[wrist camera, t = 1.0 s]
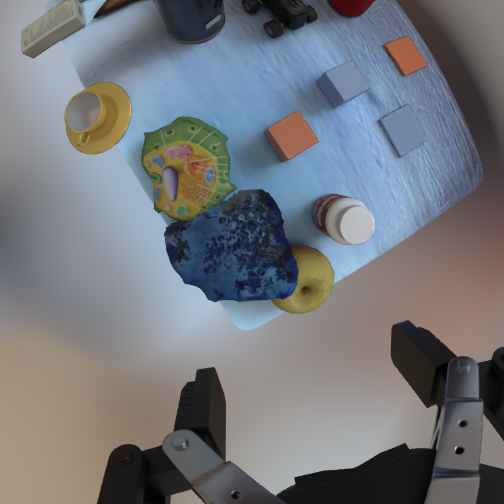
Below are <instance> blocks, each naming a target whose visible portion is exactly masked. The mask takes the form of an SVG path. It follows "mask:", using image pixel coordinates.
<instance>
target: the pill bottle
mask: <svg viewBox="0 0 504 504" xmlns="http://www.w3.org/2000/svg"><path fill="white" fill-rule="evenodd" d="M312 216H313V221H314V223H315V225H316V227H317V228H318V229H319V230H320V231H322V232H323V233H325V234H326V235H328V236H329V237H330V238H332V239H333V240H335V241H336V242H338V243H340V244H344V245H352V244H356V245H357V244H362V243H364V242H366V241H368V240H369V239H370V237H371V236H372V234H373V232H374V229H375V220H374V217H373V215H372V213H371V212H370V211H369V210H368V209H367V208H366V206H365V205H364V204H363V203H362V202H360V201H359V200H357V199H354V198H351V197H346V196H342V195H338V194H327V195H324V196H322V197H321V198H319V199H318V200H317V202H316V203H315V205H314V207H313V212H312Z"/></svg>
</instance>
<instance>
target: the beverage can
mask: <svg viewBox="0 0 504 504" xmlns="http://www.w3.org/2000/svg"><path fill="white" fill-rule="evenodd" d="M374 1H375V0H330V3H331V4H332V6H333V7H334V8H335V9H336V10H338V11H339V12H341V13H343V14H345V15H348V16H360V15H362V14H363V13H364V12H365V11H366V10H367V9H368V8H369V7H370V6H371V4H372V3H373V2H374Z"/></svg>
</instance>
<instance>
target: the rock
mask: <svg viewBox="0 0 504 504" xmlns="http://www.w3.org/2000/svg"><path fill="white" fill-rule="evenodd" d="M283 224H284V220H283V219H282V216H281V211H280V210H279V208H278V205H277V204H276V203H275V200H273V198H272V197H271V196H270V194H269V193H267V192H265V191H264V190H262V189H258V190H241V191H239V192H238V194H234V195H233V197H231V198H229V199H228V201H224V202H223V203H220V205H219V206H214V208H210V209H209V210H208V211H207V212H203V213H202V214H200V215H198V216H197V217H196V218H193V220H186V221H182V222H175V223H172V224H171V225H170V226H168V227H166V231H165V233H164V236H165V243H166V250H167V254H168V256H169V260H170V263H171V264H172V267H173V268H174V270H175V271H176V272H177V273H178V274H179V275H180V276H181V278H182V279H183V282H184V283H185V284H190V285H193V286H197V287H199V288H200V289H201V290H202V291H203V292H204V293H205V295H206V297H207V299H208V300H211V301H214V302H217V301H219V300H235V301H238V302H241V301H253V300H269V299H281V300H284V299H286V298H288V297H290V296H291V295H292V294H293V292H294V291H295V288H296V286H297V281H298V274H299V269H298V267H297V261H296V259H294V255H293V254H292V250H291V246H290V244H289V243H288V240H287V239H286V237H285V233H284V229H283V227H282V226H283Z"/></svg>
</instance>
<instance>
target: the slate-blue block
mask: <svg viewBox="0 0 504 504" xmlns="http://www.w3.org/2000/svg"><path fill="white" fill-rule="evenodd" d="M316 83H317V84H318V86H319V87H320V89H321V90H322V92H323V93H324V94H325V96H326V97H327V99H328V100H329V102H330V103H331V105H332V106H333V108H336V107H338V106H340V105H342V104H343V103H345V102H347V101H349V100H351V99H353V98H355V97H357V96H358V95H360V94H362V93H363V92H365V91H367V90H369V89H370V87H369V85H368V84H367V82H366V81H365V79H364V78H363V76H362V75H361V73H360V72H359V70H358V69H357V67H356V66H355V64H354V63H353V62H352V60H350V61H348V62H346V63H344V64H341V65H339V66H337V67H335V68H333V69H331V70H329V71H327V72H325V73H324V74H323V75H322V76H321V77H320V78H319V80H318V81H317V82H316Z"/></svg>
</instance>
